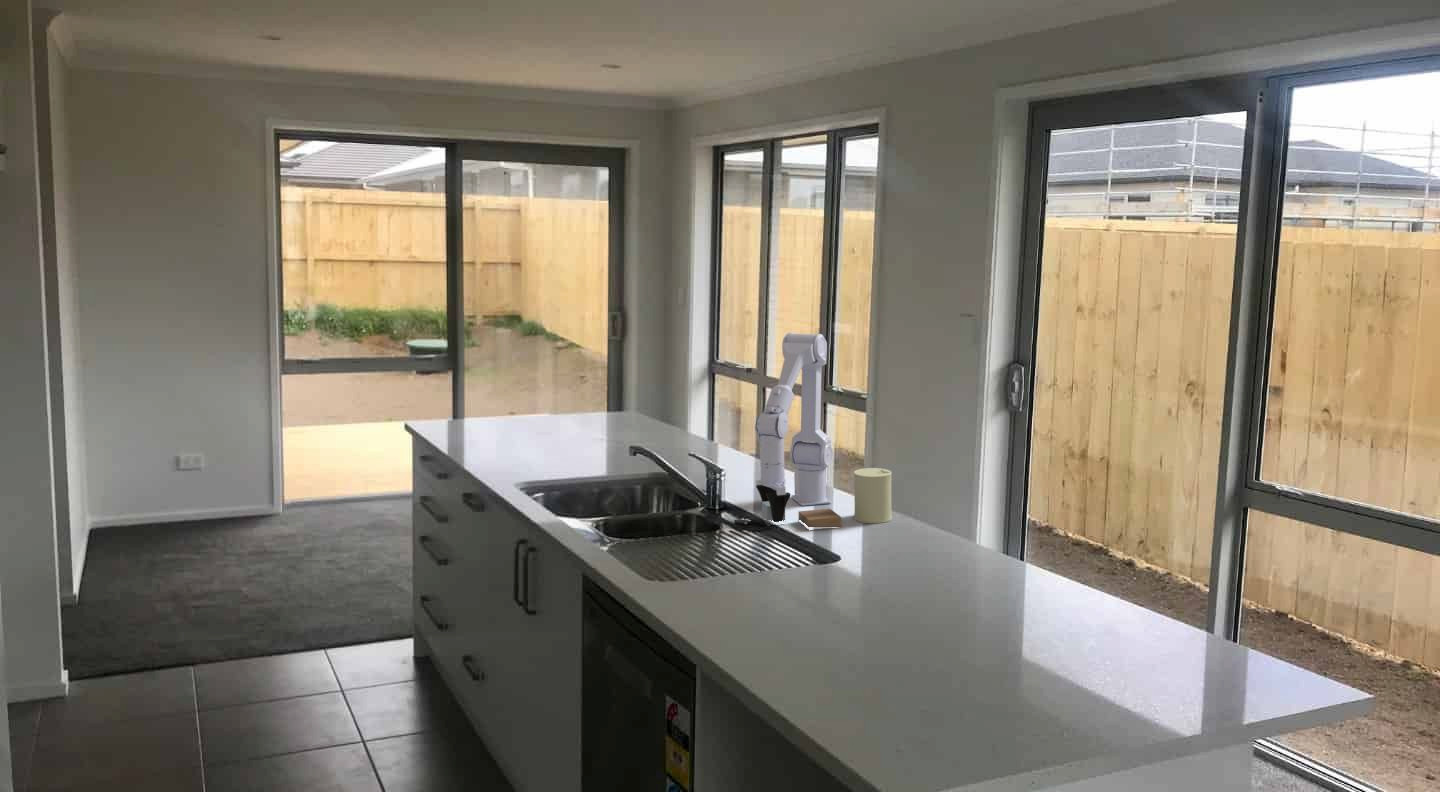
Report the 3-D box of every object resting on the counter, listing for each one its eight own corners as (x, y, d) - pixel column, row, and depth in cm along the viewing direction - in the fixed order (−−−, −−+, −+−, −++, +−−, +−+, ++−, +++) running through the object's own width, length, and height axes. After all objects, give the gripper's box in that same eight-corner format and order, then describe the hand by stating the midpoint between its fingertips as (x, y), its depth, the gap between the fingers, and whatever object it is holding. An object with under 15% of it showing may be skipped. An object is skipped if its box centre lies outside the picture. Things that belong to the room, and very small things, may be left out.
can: (894, 523, 272) (894, 474, 270) (855, 523, 272) (855, 475, 270) (889, 512, 281) (889, 465, 279) (852, 513, 282) (851, 466, 280)
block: (762, 521, 277) (761, 501, 276) (779, 520, 278) (779, 500, 277) (767, 526, 273) (766, 506, 272) (785, 524, 274) (784, 504, 273)
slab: (798, 523, 276) (798, 511, 275) (829, 520, 278) (829, 508, 277) (809, 532, 268) (808, 519, 268) (841, 529, 270) (841, 516, 269)
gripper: (748, 457, 279) (749, 511, 281) (764, 470, 265) (765, 526, 267) (775, 455, 280) (777, 508, 283) (793, 467, 266) (794, 523, 269)
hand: (773, 517), depth 275 cm, fingers open, 7 cm apart
